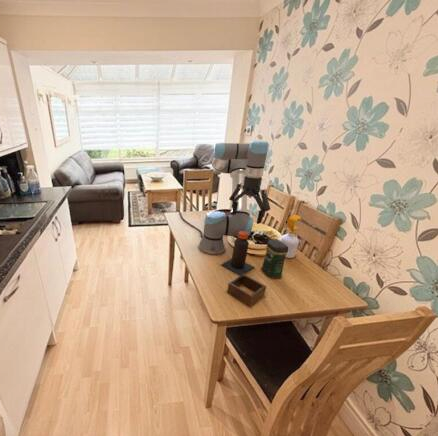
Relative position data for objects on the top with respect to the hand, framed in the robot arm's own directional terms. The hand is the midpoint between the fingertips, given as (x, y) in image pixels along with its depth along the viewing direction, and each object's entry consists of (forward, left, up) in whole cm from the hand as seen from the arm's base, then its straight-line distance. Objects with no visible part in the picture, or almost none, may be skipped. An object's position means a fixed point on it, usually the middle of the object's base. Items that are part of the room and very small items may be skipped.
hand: (245, 218), depth 118 cm
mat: (0, 0, -29) cm, 29 cm away
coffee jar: (+14, +9, -29) cm, 33 cm away
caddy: (+15, -16, -29) cm, 36 cm away
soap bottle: (+10, +34, -29) cm, 46 cm away
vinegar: (0, 0, -28) cm, 28 cm away
